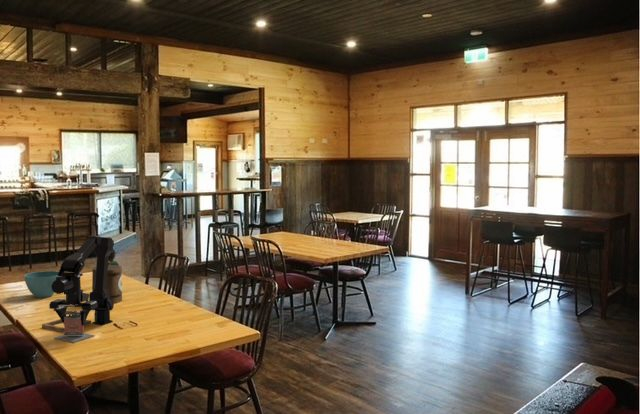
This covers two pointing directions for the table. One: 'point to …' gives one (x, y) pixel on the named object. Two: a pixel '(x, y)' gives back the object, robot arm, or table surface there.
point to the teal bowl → (41, 283)
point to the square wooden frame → (56, 328)
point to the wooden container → (112, 282)
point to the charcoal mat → (74, 337)
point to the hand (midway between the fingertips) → (74, 324)
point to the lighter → (73, 324)
